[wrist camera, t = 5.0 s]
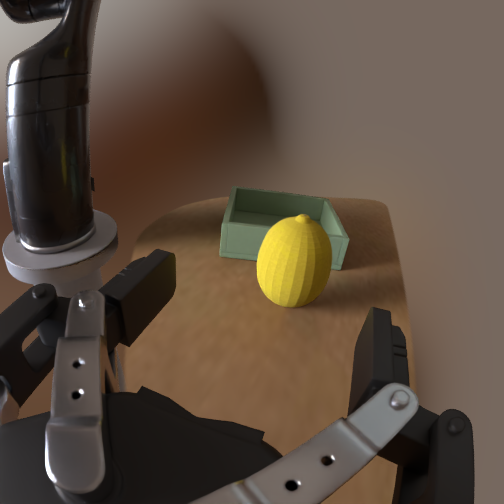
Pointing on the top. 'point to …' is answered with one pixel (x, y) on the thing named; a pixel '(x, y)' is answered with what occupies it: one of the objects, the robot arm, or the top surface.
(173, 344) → the top surface
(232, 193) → the bin
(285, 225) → the lemon
